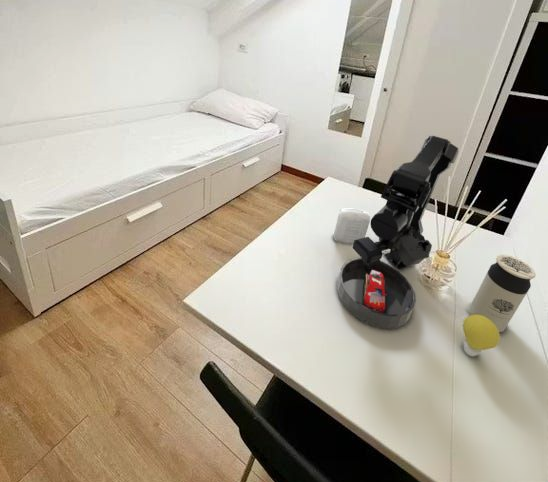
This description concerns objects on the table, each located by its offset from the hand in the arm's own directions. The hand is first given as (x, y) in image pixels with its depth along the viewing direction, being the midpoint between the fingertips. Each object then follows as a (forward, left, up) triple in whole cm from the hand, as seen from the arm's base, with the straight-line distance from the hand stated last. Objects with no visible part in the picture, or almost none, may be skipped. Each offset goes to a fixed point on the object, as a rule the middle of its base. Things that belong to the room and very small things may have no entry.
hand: (381, 269), depth 75 cm
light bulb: (-11, +20, -10) cm, 25 cm away
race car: (0, 0, -9) cm, 9 cm away
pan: (0, 0, -9) cm, 9 cm away
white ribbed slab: (-8, -21, -10) cm, 24 cm away
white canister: (-24, +16, -10) cm, 30 cm away
